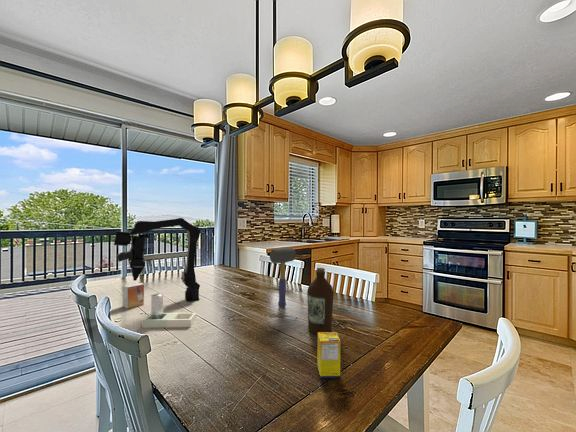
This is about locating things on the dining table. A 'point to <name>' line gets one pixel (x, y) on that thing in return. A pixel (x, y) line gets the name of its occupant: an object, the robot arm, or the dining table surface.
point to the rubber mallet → (282, 269)
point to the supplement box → (328, 355)
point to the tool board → (170, 320)
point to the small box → (133, 295)
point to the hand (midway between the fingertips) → (134, 278)
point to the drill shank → (157, 306)
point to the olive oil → (320, 304)
